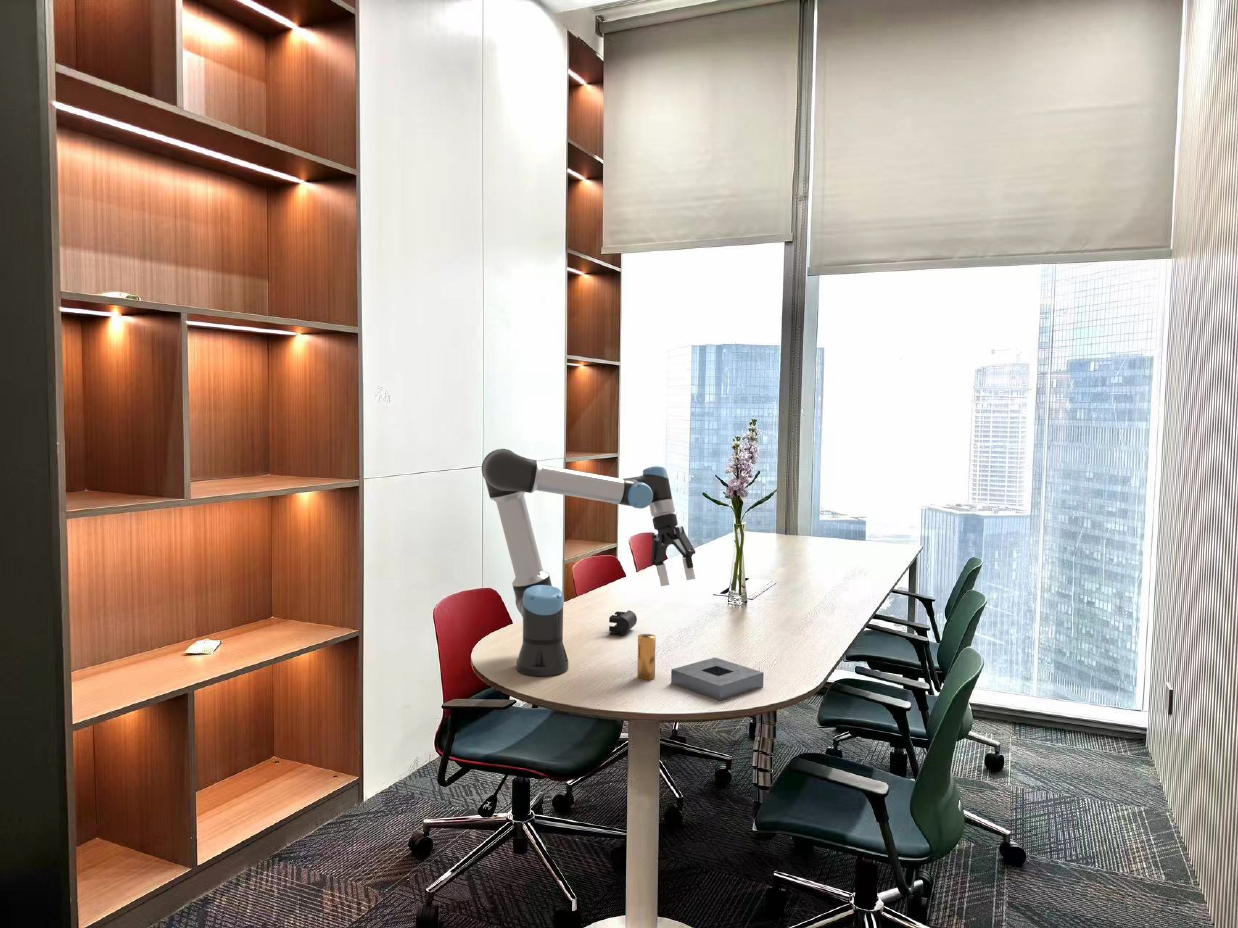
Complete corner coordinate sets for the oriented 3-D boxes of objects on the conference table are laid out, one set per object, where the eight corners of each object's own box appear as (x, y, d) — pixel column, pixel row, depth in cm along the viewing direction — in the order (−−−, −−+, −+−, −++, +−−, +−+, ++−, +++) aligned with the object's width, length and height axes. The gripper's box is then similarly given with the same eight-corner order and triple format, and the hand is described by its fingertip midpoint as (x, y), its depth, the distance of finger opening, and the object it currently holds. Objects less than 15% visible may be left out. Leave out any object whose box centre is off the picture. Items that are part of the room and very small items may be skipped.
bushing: (645, 681, 233) (646, 639, 232) (633, 677, 237) (634, 635, 236) (658, 678, 236) (659, 636, 236) (646, 673, 240) (647, 632, 239)
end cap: (628, 637, 279) (629, 617, 278) (608, 635, 281) (608, 615, 280) (636, 630, 288) (637, 610, 288) (617, 628, 290) (617, 608, 290)
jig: (719, 700, 219) (720, 685, 218) (671, 683, 232) (671, 669, 232) (763, 686, 230) (763, 672, 230) (714, 670, 244) (714, 657, 244)
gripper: (697, 505, 252) (712, 574, 248) (651, 521, 272) (664, 586, 268) (677, 507, 248) (692, 578, 244) (632, 524, 268) (645, 589, 264)
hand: (677, 582), depth 256 cm, fingers open, 13 cm apart
